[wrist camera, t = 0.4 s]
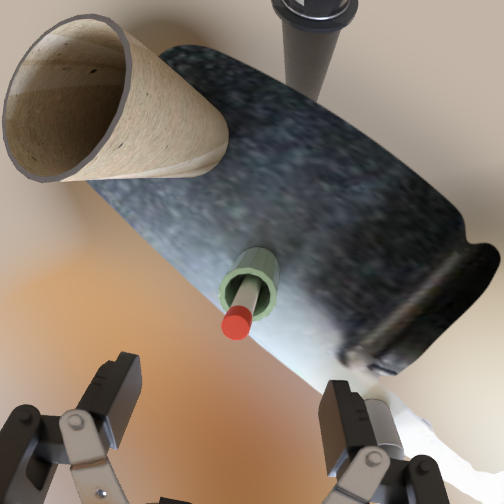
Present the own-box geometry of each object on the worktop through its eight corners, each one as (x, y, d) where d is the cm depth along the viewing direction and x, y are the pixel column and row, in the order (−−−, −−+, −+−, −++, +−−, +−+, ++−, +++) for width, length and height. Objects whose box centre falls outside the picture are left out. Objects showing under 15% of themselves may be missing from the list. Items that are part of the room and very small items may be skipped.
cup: (328, 420, 44) (333, 466, 35) (370, 390, 42) (383, 435, 33) (360, 442, 45) (368, 485, 35) (398, 414, 43) (414, 457, 33)
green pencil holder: (242, 240, 39) (227, 259, 30) (286, 255, 39) (285, 279, 30) (229, 281, 41) (211, 310, 32) (271, 296, 41) (266, 329, 31)
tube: (232, 172, 38) (138, 162, 14) (156, 182, 39) (5, 197, 15) (224, 93, 36) (134, -11, 11) (150, 108, 37) (7, 53, 13)
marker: (250, 259, 39) (225, 310, 24) (267, 265, 39) (253, 320, 24) (245, 275, 40) (217, 334, 24) (262, 281, 40) (244, 344, 24)
